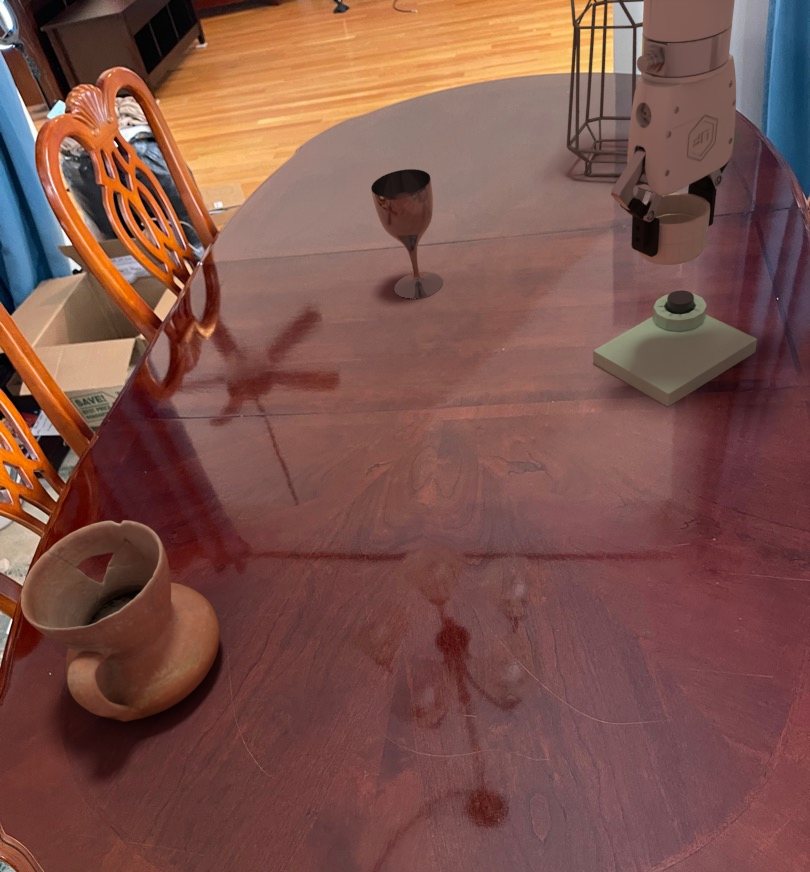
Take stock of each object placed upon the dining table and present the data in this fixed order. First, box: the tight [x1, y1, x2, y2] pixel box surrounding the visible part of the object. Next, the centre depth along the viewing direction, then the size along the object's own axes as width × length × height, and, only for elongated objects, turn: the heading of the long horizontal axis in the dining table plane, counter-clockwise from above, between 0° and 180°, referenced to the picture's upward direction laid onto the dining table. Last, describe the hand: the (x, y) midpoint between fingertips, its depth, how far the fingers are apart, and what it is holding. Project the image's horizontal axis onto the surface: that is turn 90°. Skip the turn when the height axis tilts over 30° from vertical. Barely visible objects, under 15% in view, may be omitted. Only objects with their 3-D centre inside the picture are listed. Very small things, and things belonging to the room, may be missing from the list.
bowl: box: [637, 192, 710, 266], centre depth 85 cm, size 7×7×4 cm
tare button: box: [667, 289, 694, 314], centre depth 97 cm, size 3×3×2 cm
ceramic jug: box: [20, 519, 221, 722], centre depth 73 cm, size 18×14×14 cm
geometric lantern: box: [566, 0, 644, 177], centre depth 120 cm, size 16×16×35 cm
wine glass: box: [370, 168, 444, 300], centre depth 112 cm, size 8×8×15 cm
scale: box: [592, 292, 758, 408], centre depth 96 cm, size 14×12×4 cm
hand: (672, 235), depth 86 cm, fingers closed on bowl, 7 cm apart
